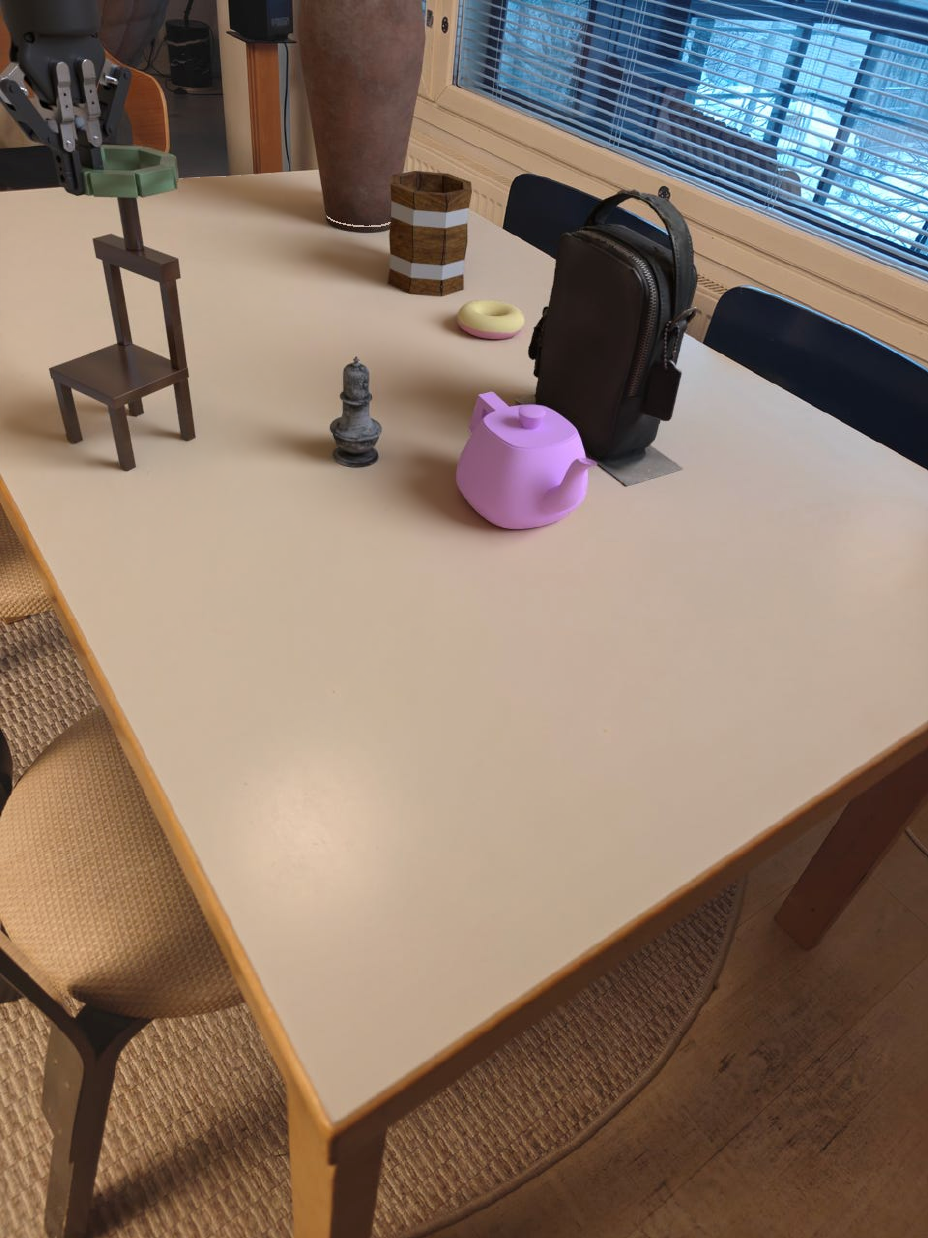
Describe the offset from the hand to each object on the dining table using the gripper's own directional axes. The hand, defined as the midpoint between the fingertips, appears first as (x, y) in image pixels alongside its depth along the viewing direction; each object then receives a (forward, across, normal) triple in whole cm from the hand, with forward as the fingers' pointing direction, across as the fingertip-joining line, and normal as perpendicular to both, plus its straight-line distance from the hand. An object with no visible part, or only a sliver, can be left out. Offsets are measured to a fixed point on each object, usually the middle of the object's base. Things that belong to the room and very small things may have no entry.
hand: (84, 190), depth 80 cm
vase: (+26, -83, -34) cm, 94 cm away
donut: (+26, -56, +13) cm, 63 cm away
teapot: (+26, -18, +41) cm, 52 cm away
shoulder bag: (+26, -38, +40) cm, 61 cm away
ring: (0, -5, 0) cm, 5 cm away
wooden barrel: (+26, -67, -8) cm, 73 cm away
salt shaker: (+26, -14, +21) cm, 37 cm away
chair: (+26, 0, 0) cm, 26 cm away
